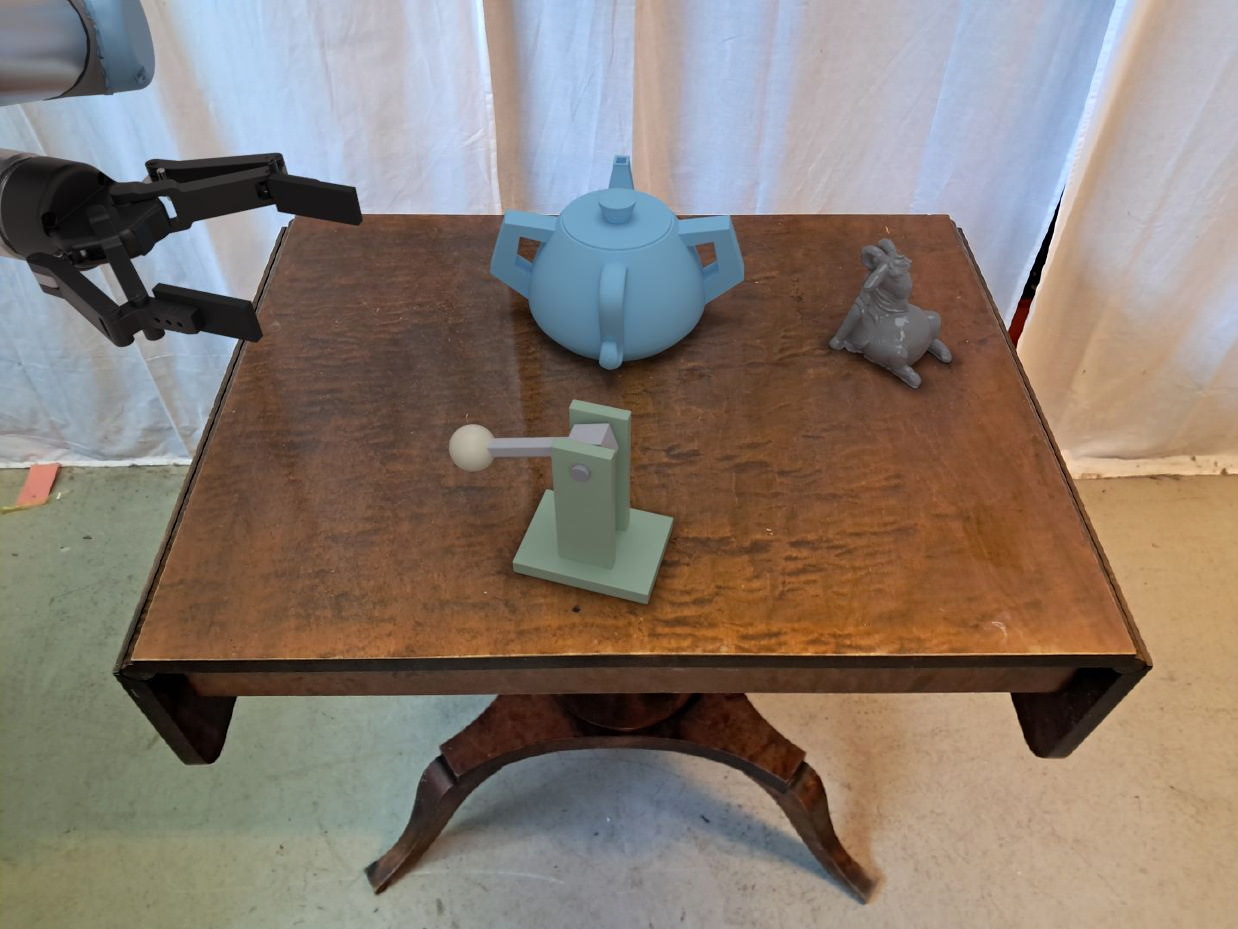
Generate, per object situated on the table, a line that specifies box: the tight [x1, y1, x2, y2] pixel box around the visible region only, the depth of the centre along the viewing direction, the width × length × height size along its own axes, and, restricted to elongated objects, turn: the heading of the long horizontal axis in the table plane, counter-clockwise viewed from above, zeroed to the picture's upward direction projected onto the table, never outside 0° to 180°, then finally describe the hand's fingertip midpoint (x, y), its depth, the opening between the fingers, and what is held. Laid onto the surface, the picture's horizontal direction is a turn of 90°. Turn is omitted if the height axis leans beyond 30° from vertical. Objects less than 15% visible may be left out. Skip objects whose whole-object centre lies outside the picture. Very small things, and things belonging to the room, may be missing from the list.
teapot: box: [489, 154, 745, 371], centre depth 92 cm, size 19×19×14 cm
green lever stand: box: [512, 398, 674, 605], centre depth 71 cm, size 11×8×14 cm
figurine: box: [828, 237, 953, 389], centre depth 89 cm, size 8×10×11 cm
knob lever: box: [448, 423, 619, 473], centre depth 70 cm, size 13×4×4 cm, turn 74°
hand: (309, 260), depth 63 cm, fingers open, 13 cm apart
